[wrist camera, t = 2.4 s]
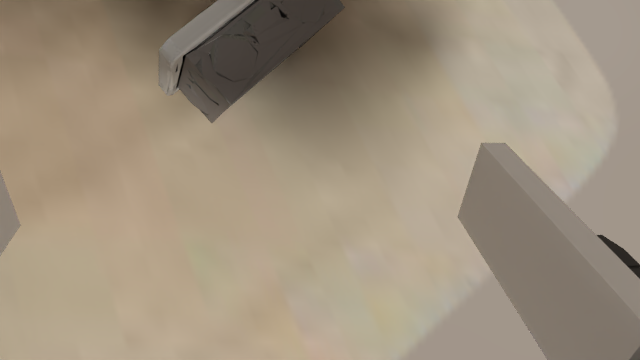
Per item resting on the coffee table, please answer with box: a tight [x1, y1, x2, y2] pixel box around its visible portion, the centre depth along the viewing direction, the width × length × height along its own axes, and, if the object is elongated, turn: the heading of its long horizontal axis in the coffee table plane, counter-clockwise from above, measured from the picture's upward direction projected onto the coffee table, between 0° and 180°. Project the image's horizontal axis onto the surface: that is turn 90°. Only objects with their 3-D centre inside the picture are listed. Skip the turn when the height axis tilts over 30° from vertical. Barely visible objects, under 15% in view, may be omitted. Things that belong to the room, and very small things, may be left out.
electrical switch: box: [159, 0, 345, 123], centre depth 24 cm, size 9×5×9 cm, turn 135°
